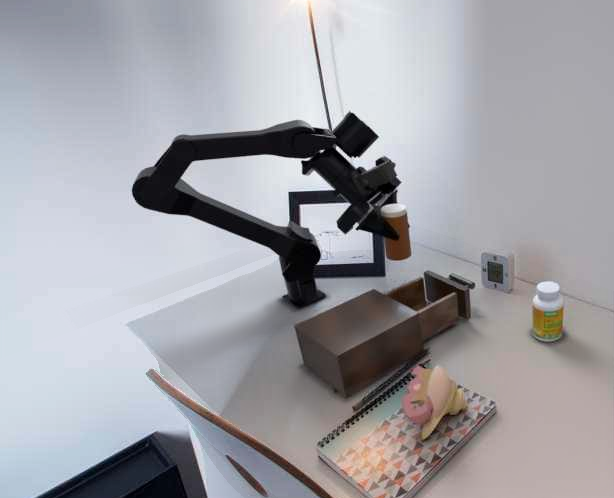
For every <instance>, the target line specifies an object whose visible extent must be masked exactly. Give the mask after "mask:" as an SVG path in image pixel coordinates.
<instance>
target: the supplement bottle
mask: <svg viewBox="0 0 614 498" xmlns="http://www.w3.org/2000/svg"><path fill="white" fill-rule="evenodd" d="M564 302H565V300H564V298H563V297H562V295H561V286H560V285H559V283H557V282H555V281H548V280H547V281H541V282H539V283H538V284H537V285H536V294H535V296H533V298H532V327H531V329H532V330H531V331H532V336H533V337H534V338H535V339H536V340H539V341H541V342H546V343H547V342H548V343H549V342H555V341H557V340H559V339H560V338H562V336H563V327H564V305H565V303H564Z"/></svg>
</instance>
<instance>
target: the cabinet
mask: <svg viewBox="0 0 614 498" xmlns="http://www.w3.org/2000/svg"><path fill="white" fill-rule="evenodd" d="M384 294H385V293H382V292H380V291H379V290H377V289H376V288H373V289H370V290H368V291H366V292H364V293H361V294H360V295H356V296H354V297H353V298H351V299H348V300H347V301H344V302H342V303H340V304H338V305H336V306H333V307H331V308H329V309H327V310H324V311H322V312H320V313H318V314H316V315H314V316H311V317H309V318H307V319H305V320H302V321H301V322H298V323H296V324H295V325H293V327H294V333H295V335H296V336H295V337H296V339H297V344H298V347H299V351H300V356H301V358H302V359H301V360H302V362H303V366H304V367H305V368H307V369H308V370H309V371H310V372H311V373H313V374H314V375H315V376H317V377H318V378H319V379H321V380H322V381H323V382H325V383H326V385H328V386H329V387H331V388H332V389H334V391H336V392H337V393H339V394H340V395H341V396H342V397H344V398H345V399H348V398H350V397H351V396H353V395H355V394H356V393H358V392H360V391H362V390H363V389H365V388H367V387H368V386H370V385H371V384H373V383H375V382H377V381H378V380H380V379H382V378H384V377H385V376H386V375H388V374H390V373H392V372H393V371H395V370H397V369H399V368H400V367H402V366H404V365H405V364H407V363H409V362H411V361H412V360H413V359H415V358H417V357H419V356H421V355H422V354H424V353H425V351H424V350H425V349H424V341H422V333H421V325H420V317H419V313H418V312H416V311H414V310H413V309H411V308H409V307H407V306H405V305H403V304H401V303H399V302H398V301H396V300H394V299H392V298H390V297H388V296H386V295H384Z"/></svg>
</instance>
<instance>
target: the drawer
mask: <svg viewBox="0 0 614 498" xmlns="http://www.w3.org/2000/svg"><path fill="white" fill-rule="evenodd" d="M475 288H476V283H475V282H474V281H472V280H470V279H467V278H465V277H462V276H460V275H458V274H455V273H453V272H451V273H449V275H448V277H446V276H442V275H441V274H438V273H436V272H434V271H432V270H429V269H427V270H425V271H423V276H419V277H417V278H415V279H413V280H411V281H409V282H406V283H404V284H402V285H400V286H398V287H396V288H394V289H392V290H389V291H388V292H386V293H385V292H384V293H383V294H384V295H386V296H388V297H390V298H392V299H394V300H396V301H398V302H399V303H401V304H403V305H405V306H407V307H409V308H411V309H413V310H414V311H416V312H418V313H419V317H420V325H421V333H422V341H423V342H424V341H426V340H428V339H430V338H431V337H433V336H434V335H436V334H438V333H440V332H441V331H443V330H445V329H447V328H448V327H450V326H452V325H454V324H456V323H457V322H459V320H460V318H461V319H463V320H465V321H468V320H470V319H471V318H472V309H471V308H472V307H471V292H470V290H474V289H475ZM459 317H460V318H459Z"/></svg>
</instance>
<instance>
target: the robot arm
mask: <svg viewBox="0 0 614 498" xmlns="http://www.w3.org/2000/svg"><path fill="white" fill-rule="evenodd" d="M379 138H380V136H379V135H378V134H377V133H376V132H375V131H374V130H373V128H371V127H370V126H369V125H368V124H367V123H366V122H365V121H364V120H361V119H360V118H359V117H358V116H357V115H356V114H355V113H354V112H353V111H352V110H348V112H347V113H346V114H345V115H344V117H343V119H341V121H340V122H339V123H338V124H337V125H336V126H335V127H334V128H333V129H332V130H331V129H330V128H322V127H316V126H312V125H311V124H310V123H308V122H307V121H305V120H302V119H293V120H289V121H285V122H281V123H277V124H274V125H272V126H270V127H267V128H262V129H258V130H257V129H256V130H243V131H231V132H229V131H228V132H217V133H216V132H215V133H204V134H184V133H183V134H179V135H176V136H175V137H174V138H173V140H172V141H171V144H170V145H169V147H168V148H167V149H166V150H165V151H164V152H163V153H162V155H161V156H160V157H159V158H158V160H157V161H156V162H155V164H153V165H152V166H148V167H145V168H143V169H142V170H141V171H139V172H138V174H137V176H136V178H135V179H134V182H133V184H132V187H131V195H132V197H133V199H134V200H135V203H136V204H137V205H138V206H140V207H141V208H144V209H146V210H149V211H153V212H158V213H161V214H166V215H171V216H183V217H184V216H186V217H191V218H193V219H195V220H199V221H201V222H203V223H206V224H208V225H211V226H213V227H215V228H218V229H220V230H223V231H225V232H228V233H230V234H233V235H235V236H238V237H242V238H243V239H246V240H249V241H251V242H253V243H256V244H258V245H261V246H263V247H266V248H267V249H270V250H271V251H272V252H274V253H275V254H276V255H277V256H278V261H279V265H280V271H281V275H282V277H283V280H284V284H285V288H286V292H287V293H285V294H284V295H281V296H282V297H281V298H282V300H284V301H285V302H287V303H288V304H289V305H291V306H293V307H294V308H295V309H300V308H303V307H306V306H308V305H311V304H312V303H315V302H317V301H319V300H321V299H324V298H326V296H327V295H326V293H325V292H323V291H321V290H320V289H318V286H317V281H316V278H315V272H314V270H315V266H317V265H318V264H319V262H320V261H321V258H322V252H321V250H320V247H319V243H318V241H317V238H316V237H315V235H314V234H313V233H312V232H311V230H310V228H309V227H303V226H300V225H299V224H297V223H295V222H294V221H292V220H289V221H288V224H287V226H283V225H276V224H274V223H271V222H269V221H266V220H264V219H262V218H259V217H256V216H254V215H252V214H250V213H248V212H245V211H243V210H240V209H238V208H236V207H233V206H231V205H229V204H226V203H224V202H221V201H219V200H217V199H215V198H212V197H210V196H208V195H205V194H203V193H200V192H199V191H198V190H196V189H195V188H194V187H192V186H191V185H190V184H189V183H187V182H186V181H185V180H184V179H182V178H183V175H184V174H185V172H186V171H187V170H188V168H189V167H190V165H191V164H193V162H198V161H199V162H200V161H211V160H222V159H232V158H242V157H243V158H244V157H254V156H264V155H265V156H275V157H279V158H286V159H299V160H300V164H301V174H302V175H303V176H307V177H309V176H310V175H311V174H312V173H313V172H315V173H316V174H317V175H319V177H320V178H321V179H323V181H325V182H326V183H327V184H328V185H329V186H330V187H331V188H332V189H333V190H334V191H333V192H332V195H333V196H334V197H335V198H338V197H339V196H341V197H342V198H343V199H344V200H345V201H346V202H347V203H348V204H349V206H348V207H347V208H346V209H345V210H344V212H342V213H341V215H340V216H339V217H338V219H336V227H337V229H338V230H339V231H340V232H342V233H343V235H347V234H348V233H349V232H351V231H352V230H353V229H354V226H355V225H356V224H357V226H356V227H355V231H357V232H358V231H363V232H366V233H369V234H373V235H377V236H380V237H383V238H384V237H386V238H389V239H392V240H395V241H397V240H398V239H399V238H400V236H399V235H398V234H397V232H396V231H395V230H394V229H393V228H392V227H391V226H390V224H389V223H388V222H387V221H386V220H385V219H384V218H383V217H382V215H381V208H382V207H383V206H385V205H389V204H399V202H398V198H397V197H398V192H399V189H397V188H398V187H399V186H400V185H402V181H401V180H400V179H399V178H398V177H397V176H398V173H397V172H396V170H395V168H396V166H397V164H396V162H394V161H392V160H391V158H389V157H387V156H386V155H382V156H381V157H378V158H377V159H375V161H374V163H375V164H374V166H373V167H371V168H370V169H366V168H365V167H364V166H358V167H355V166H354V165H353V163H351V162H350V161H349V160H348V159H347V158H346V157H345V155H346V156H347V157H348V158H349V159H352V158H354V159H357V158H358V159H360V158H361V157H362V156H363V155H364V154H365V153H366V152H367V150H369V149H370V147H372V146H373V144H374V143H375V142H376V141H377V140H378V139H379ZM337 147H338V148H339V149H340V150H341V151H342V152H343V153H344V154H345V155H343V154H342V153H341V152H340V151H339V150H338V149H337ZM306 159H308V160H306ZM374 206H375V207H374ZM408 226H409V229H410V228H411V225H410V223H409V222H408Z"/></svg>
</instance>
